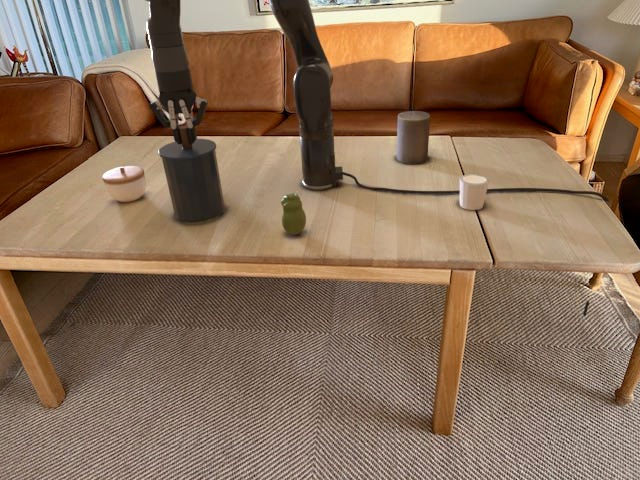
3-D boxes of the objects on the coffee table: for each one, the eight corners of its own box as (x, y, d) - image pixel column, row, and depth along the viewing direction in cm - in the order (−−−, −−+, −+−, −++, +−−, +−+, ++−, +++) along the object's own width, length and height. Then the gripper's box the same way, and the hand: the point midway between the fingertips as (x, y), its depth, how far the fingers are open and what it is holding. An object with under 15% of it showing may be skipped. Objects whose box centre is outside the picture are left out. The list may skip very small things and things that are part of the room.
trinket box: (101, 204, 131) (91, 173, 126) (127, 189, 139) (119, 158, 135) (133, 209, 127) (124, 176, 123) (157, 193, 136) (150, 161, 131)
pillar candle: (432, 156, 150) (435, 108, 143) (420, 166, 143) (423, 116, 136) (403, 151, 155) (405, 105, 148) (390, 161, 148) (392, 113, 141)
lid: (221, 142, 121) (217, 117, 118) (210, 161, 109) (206, 134, 106) (168, 144, 121) (162, 120, 118) (152, 164, 110) (145, 137, 106)
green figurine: (287, 240, 109) (283, 200, 104) (279, 230, 113) (275, 192, 108) (310, 234, 111) (307, 195, 106) (301, 225, 115) (298, 187, 110)
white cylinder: (470, 213, 116) (473, 187, 112) (451, 203, 121) (453, 177, 118) (491, 206, 118) (495, 180, 115) (472, 196, 124) (475, 171, 120)
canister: (228, 201, 129) (218, 140, 120) (220, 223, 118) (208, 158, 109) (182, 203, 129) (169, 143, 121) (169, 225, 118) (154, 161, 110)
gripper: (135, 72, 102) (153, 149, 111) (199, 69, 102) (212, 146, 111) (145, 65, 109) (162, 139, 118) (206, 62, 109) (218, 136, 117)
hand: (186, 142), depth 114 cm, fingers closed on lid, 2 cm apart
